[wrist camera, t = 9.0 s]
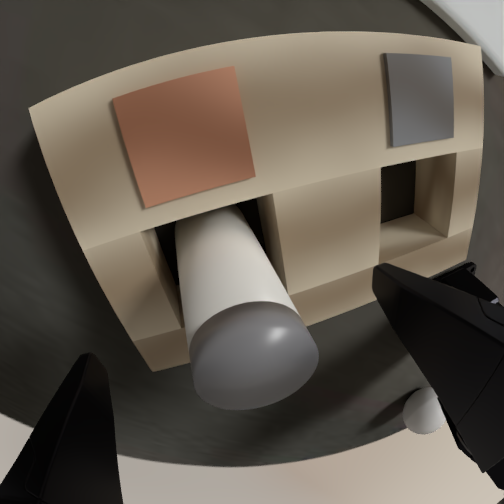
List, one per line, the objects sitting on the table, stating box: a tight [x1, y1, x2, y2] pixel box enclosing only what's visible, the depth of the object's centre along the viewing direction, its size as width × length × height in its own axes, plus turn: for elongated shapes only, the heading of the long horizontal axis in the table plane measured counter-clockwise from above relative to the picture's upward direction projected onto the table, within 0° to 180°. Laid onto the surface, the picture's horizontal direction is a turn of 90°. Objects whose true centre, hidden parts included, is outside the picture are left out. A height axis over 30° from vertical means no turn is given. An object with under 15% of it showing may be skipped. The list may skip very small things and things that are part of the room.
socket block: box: [29, 32, 484, 372], centre depth 13 cm, size 12×18×3 cm, turn 101°
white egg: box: [403, 388, 446, 434], centre depth 29 cm, size 8×6×6 cm
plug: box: [175, 204, 319, 410], centre depth 11 cm, size 3×3×8 cm
